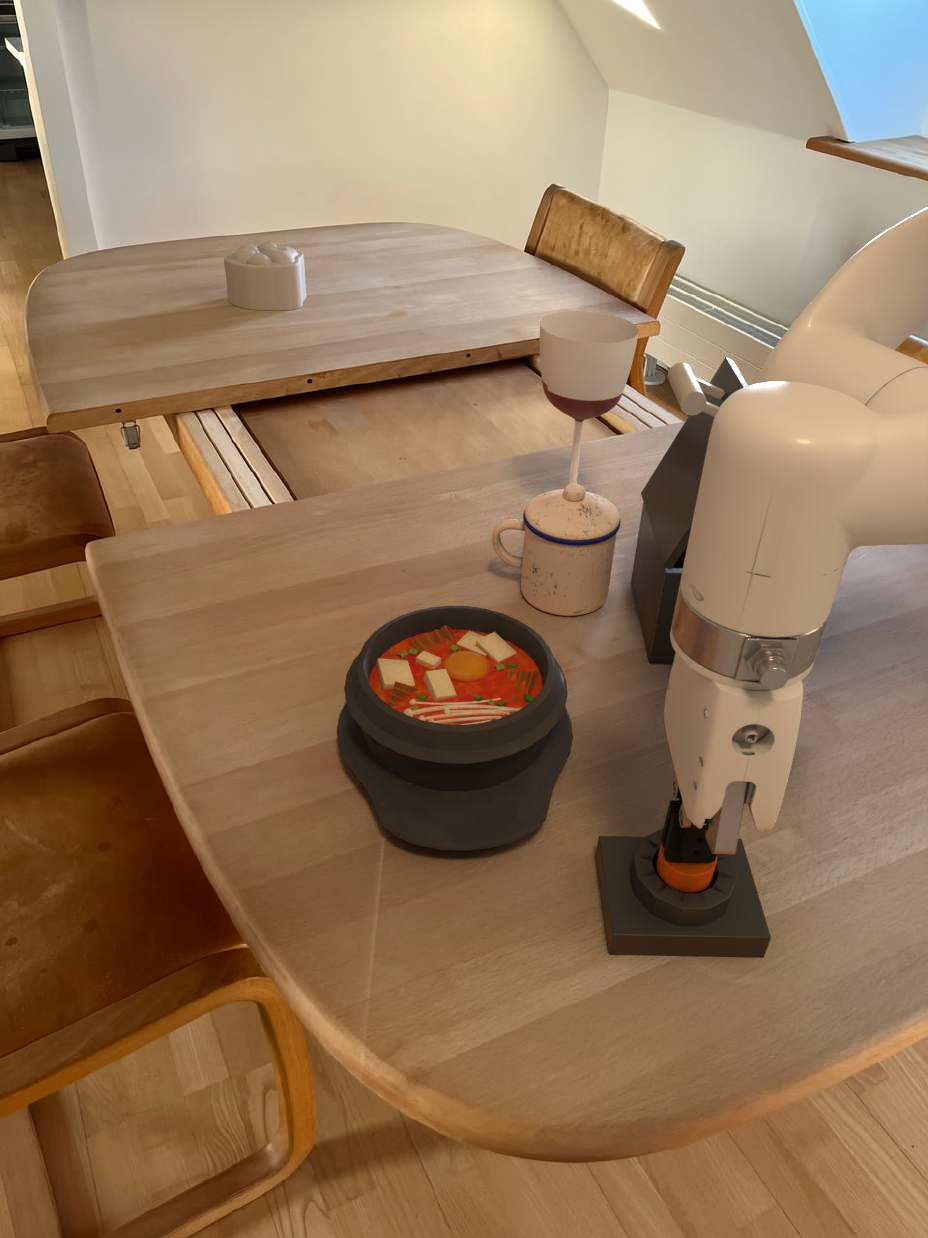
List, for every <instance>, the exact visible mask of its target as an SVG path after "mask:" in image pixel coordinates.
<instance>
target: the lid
mask: <svg viewBox="0 0 928 1238" xmlns="http://www.w3.org/2000/svg"><path fill="white" fill-rule="evenodd" d="M667 380H668V383H669V384H670V386H671V389H672V391H673V394H674V396H675V398H676V400H677V403H678V406H679V407H680V409H681V412H682V413H683V414H685V415H687V418H686V420H685V421H684V422H683V425H682V426H681V428H680V429H679V431H678V432H677V434H676V436H675V438H674V439H673V441H672V442H671V444H670V446H669V447H668V448H667V450H666V452H665V454H664V455H663V457H662V458H661V460H660V461H659V463H658V464H657V466H656V468H655V470H654V471H653V473H652V474H651V476H650V478H649V480H648V481H647V482H646V484H645V486H644V487H643V489H642V490H641V492H640V495H641V498H642V501H643V502H644V505H645V508H646V512H647V515H648V518H649V522H650V525H651V528H652V532H653V535H654V538H655V542H656V545H657V548H658V552H659V555H660V558H661V562H662V565H663V567H665V568H668V569H670V570H671V569H672V567H673V566H674V564H675V563H676V562H677V560H678V559H679V557H680V556H681V554H682V553H683V551H684V550H685V548H686V547H687V545H688V541H689V536H690V531H691V526H692V521H693V516H694V511H695V506H696V501H697V496H698V491H699V486H700V481H701V476H702V471H703V466H704V461H705V456H706V451H707V446H708V441H709V436H710V432H711V428H712V424H713V420H714V418H715V415H716V413H717V412H718V410H719V408H720V406H721V405H722V404H723V402H724V401H725V400H726V399H727V398H728V397H729V396H730V395H731V394H733V393H734V392H736V391H738V390H740V389H742V388H744V387H747V386H749V384H748V383H747V381H746V379H745V377H744V376H743V374H742V373H741V371H740V369H739V368H738V366H737V364H736V363H735V361H734V360H733V359H731V358H729V357H727V356H725V357H724V359H723V360H722V362H721V364H720V365H719V366H718V368H717V370H716V372H715V374H714V375H713V376H712V378H711V380H710V381H709V382H708V381H705V380H703V379H701V378H699V377H696V375H695V373H694V371H693V369H692V367H691V366H690V365H689V364H688V363H686V362H677V363H674V364H673V365H672V366H671V367H670V368H669V370H668V372H667Z"/></svg>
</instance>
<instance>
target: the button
mask: <svg viewBox="0 0 928 1238" xmlns="http://www.w3.org/2000/svg"><path fill="white" fill-rule="evenodd" d="M664 849H665V848H663V846H662V843H661V846H660V851H659V855H658V859H657V871H658V874H659V876H660V877H661V879H662V880H663V881H664V882H665V883H666V884H667V885H668V886H670V887H671V888H673V889H676V890H678V891H681V892H688V893H692V892H698V891H701V890H703V889H705V888H706V887H707V886H708V885H709V884H710V882H711V880H712V877H713V873H714V870H715V866H716V863H717V856H716V859H715V861H714V862H712V863H679V862H667V861H666V860H665V856H664Z"/></svg>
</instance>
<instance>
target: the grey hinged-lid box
mask: <svg viewBox="0 0 928 1238" xmlns="http://www.w3.org/2000/svg"><path fill="white" fill-rule="evenodd" d="M687 546H688V545H687ZM686 551H687V547H686V548H685V550H684V551H683V553H682V554H681V556H680V557H679V559H678V560H677V562H676V563H675V564H674V566H673V567H672V569H671V570H670V569H668V568H665V567H663V565H662V562H661V558H660V555H659V552H658V548H657V545H656V542H655V538H654V535H653V532H652V528H651V525H650V522H649V518H648V515H647V512H646V508H645V505H644V502H643V503H642V507H641V515H640V519H639V526H638V533H637V539H636V545H635V553H634V559H633V564H632V565H633V566H632V572H631V577H630V578H631V579H630V588H631V592H632V593H631V594H632V596H633V601H634V604H635V608H636V609H635V610H636V614H637V617H638V621H639V622H638V623H639V626H640V629H641V630H640V631H641V635H642V638H643V642H644V647H645V650H646V653H647V658H648V662H649V664H651V665H673V661H674V657H675V653H676V652H675V650H674V649H673V647H672V643H671V640H670V631H671V626H672V620H673V615H674V610H675V605H676V600H677V595H678V590H679V585H680V581H681V576H682V571H683V566H684V561H685V556H686Z"/></svg>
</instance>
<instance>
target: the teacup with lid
mask: <svg viewBox="0 0 928 1238" xmlns="http://www.w3.org/2000/svg"><path fill="white" fill-rule="evenodd" d="M522 514H523V516H522V519H518V518H508V519H503V520H501V521H500V522H499V523H497V524H496V525H495V527H494V529H493V531H492V535H491V543H492V548H493V550H494V552H495V554H496V555H497V557H498V558H499V559H500V560H501V561H502V562H503V563H505V564H507V565H509V566H512V567H514V568H515V567H516V568H520V569H521V578H520V590H521V594H522V596H523V598H524V599H525V600H526V601H527V602H528V603H529V604H530V605H531V606H533V607H534V608H535V609H538V610H540V611H542V612H545V613H547V614H551V615H555V616H564V617H573V616H576V617H577V616H582V615H586V614H589V613H592V612H595V611H596V610H598V609H600V608H601V607H602V606H603V605H604V604H605V602H606V601H607V600H608V596H609V591H610V582H611V577H612V569H613V562H614V555H615V547H616V540H617V534H618V532H619V531H620V527H621V517H620V513H619V511H618V509H617V507H616V506H615V505H614V504H613V503H612V502H611V501H610V500H608V499H607V498H606V497H603V496H601V495H599V494H597V493H595V492H594V493H593V492H590V491H587V490H586V489H585V487H584V486H583V485H581V484H579V483H577V484H569V483H568V484H567V485H566V486H564V488H562V489H561V488H559V489H553V490H549V491H545V492H542V493H540V494H538V495H535V496H534V497H533V498H531V499H530V501H529V502H528V503H527V504H526V506H525V508H524V510H523V513H522ZM508 530H516V531H522V532H524V534H523V535H524V536H523V548H522V549H523V551H522V556H517V555H514V554H512V553H510V552H509V551H507V549H506V548H505V547H504V544H503V543H502V540H501V533H502V532H504V531H508Z"/></svg>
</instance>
